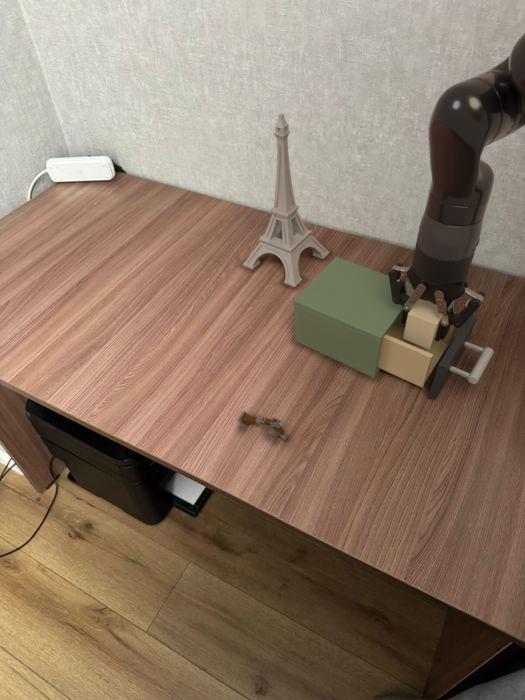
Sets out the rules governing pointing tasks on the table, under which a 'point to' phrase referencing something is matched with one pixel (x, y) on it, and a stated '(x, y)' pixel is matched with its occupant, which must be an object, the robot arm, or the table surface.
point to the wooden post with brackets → (264, 424)
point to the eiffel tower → (285, 219)
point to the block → (422, 324)
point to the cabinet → (347, 314)
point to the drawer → (430, 356)
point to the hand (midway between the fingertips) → (423, 331)
